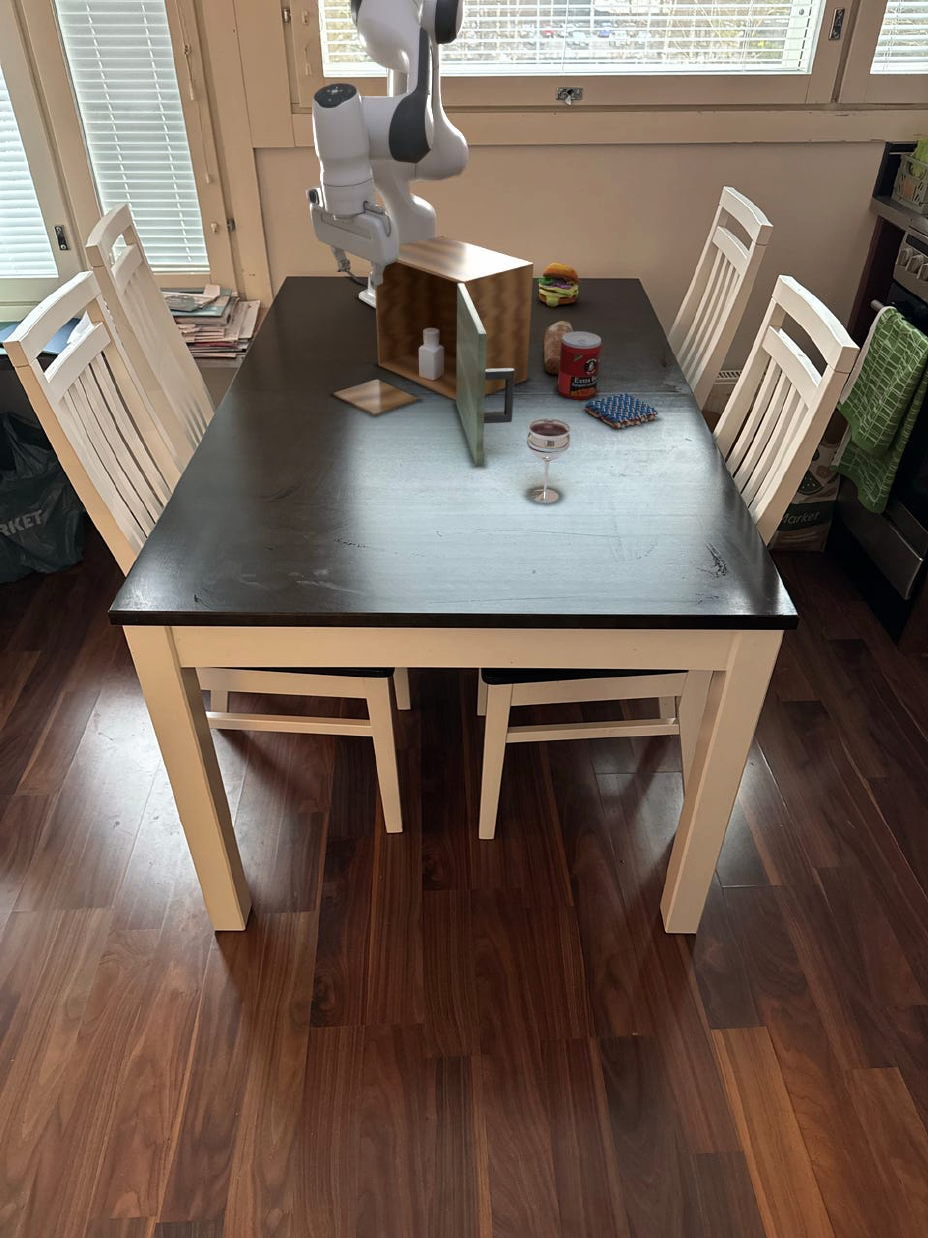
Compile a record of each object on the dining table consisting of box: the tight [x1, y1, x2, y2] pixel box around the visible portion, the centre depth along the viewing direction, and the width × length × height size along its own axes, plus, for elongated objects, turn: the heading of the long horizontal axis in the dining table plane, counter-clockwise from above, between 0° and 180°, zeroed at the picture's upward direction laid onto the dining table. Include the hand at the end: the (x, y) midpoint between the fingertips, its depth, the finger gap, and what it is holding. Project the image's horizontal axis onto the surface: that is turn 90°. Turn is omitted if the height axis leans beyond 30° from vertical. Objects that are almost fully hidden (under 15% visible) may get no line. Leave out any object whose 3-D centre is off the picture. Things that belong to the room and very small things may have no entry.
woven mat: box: [584, 392, 659, 429], centre depth 174 cm, size 10×11×2 cm
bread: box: [543, 320, 575, 375], centre depth 196 cm, size 6×19×6 cm, turn 170°
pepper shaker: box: [419, 328, 444, 380], centre depth 185 cm, size 4×4×10 cm
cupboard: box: [375, 235, 534, 401], centre depth 184 cm, size 18×26×23 cm
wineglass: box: [526, 418, 572, 504], centre depth 146 cm, size 7×7×12 cm
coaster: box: [333, 378, 420, 417], centre depth 180 cm, size 13×11×1 cm
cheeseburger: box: [537, 262, 581, 308], centre depth 228 cm, size 10×11×10 cm
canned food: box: [557, 330, 602, 401], centre depth 180 cm, size 8×8×11 cm
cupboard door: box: [455, 283, 515, 467], centre depth 161 cm, size 6×26×23 cm, turn 8°
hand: (360, 276), depth 165 cm, fingers open, 8 cm apart
